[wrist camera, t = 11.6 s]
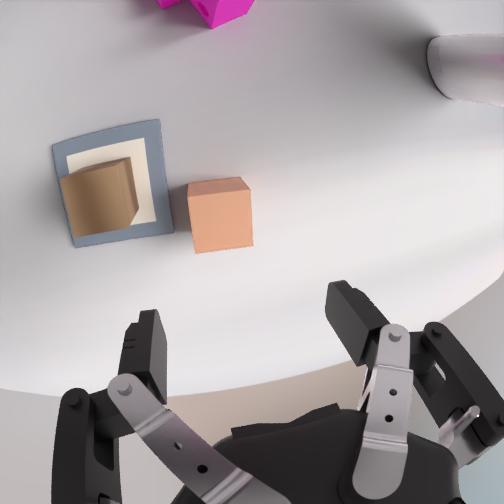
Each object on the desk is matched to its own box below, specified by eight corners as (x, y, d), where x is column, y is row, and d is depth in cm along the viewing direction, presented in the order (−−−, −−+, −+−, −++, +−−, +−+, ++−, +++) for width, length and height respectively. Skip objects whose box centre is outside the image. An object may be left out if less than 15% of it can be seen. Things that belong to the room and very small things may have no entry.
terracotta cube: (240, 176, 26) (250, 189, 22) (243, 224, 28) (253, 245, 24) (188, 183, 25) (187, 197, 21) (194, 231, 28) (195, 253, 23)
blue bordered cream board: (159, 118, 22) (158, 118, 21) (174, 229, 27) (173, 233, 26) (55, 144, 20) (51, 145, 19) (78, 245, 25) (75, 248, 24)
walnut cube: (130, 156, 22) (115, 165, 18) (139, 208, 24) (128, 228, 20) (82, 167, 21) (60, 179, 17) (92, 217, 24) (74, 238, 19)
